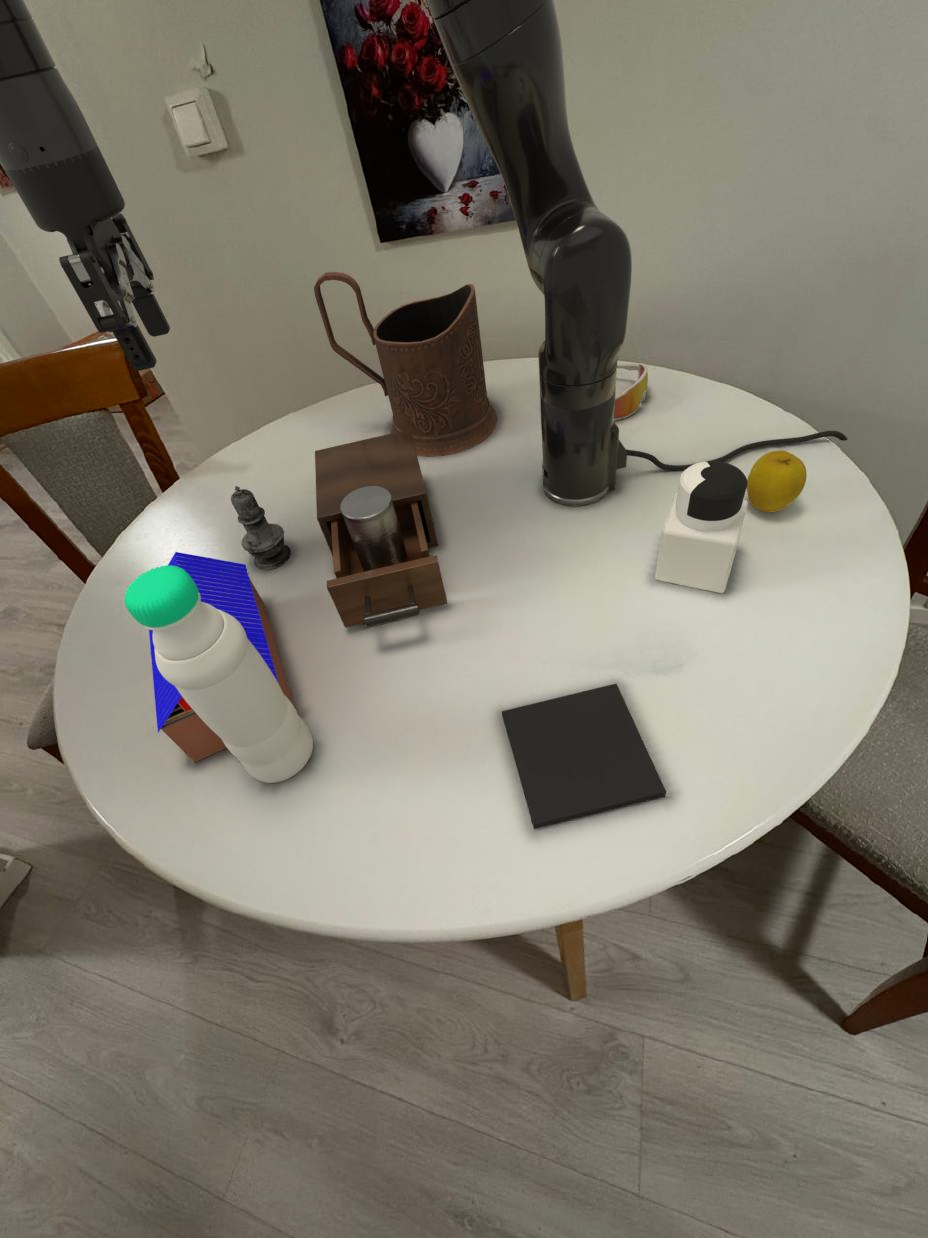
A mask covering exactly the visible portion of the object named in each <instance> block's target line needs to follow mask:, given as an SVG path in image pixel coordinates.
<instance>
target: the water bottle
mask: <svg viewBox="0 0 928 1238" xmlns="http://www.w3.org/2000/svg"><path fill="white" fill-rule="evenodd" d="M124 606H125V607H126V609H127V611H128V613H129V614H130V615H131V617H132V618H133V619H134V620H135V621H136V622H137V623H139V624H140V625H141V626H142V627H144V628H145V629H147V630H149V629H150V630H153V644H154V647H155V660H156V664H157V667H158V670H159V671H160V673H161V674H162V676H163V677H164V678H165V679H166V680H167V681H168V682H169V683H171V684H172V685H174V686H175V687H176V688H177V690H178V691H179V693H180V694H181V695H182V697H183V698H184V699H185V701H186V702H187V703H188V704H189V706H190V707H191V708H192V709H193V711H195V713H196V714H197V715H198V716H199V717H200V718H201V719H202V720H203V721H204V723H205V724H206V725H207V726H208V727H209V728H210V729H211V730H212V731H213V732H214V733H216V734H217V735H218V736H219V737H220V738H221V739H222V741H223V742H224V744H225V746H226V747H227V748H226V749H227V750H228V751H229V752H230V753H231V754H232V755H233V756H234V757H236V758H237V759H238V761H239V762H240V764H241V765H242V767H243V768H244V769H245V770H246V772H247V773H248V774H249V775H250V776H251V777H252V778H253V779H255V780H257V781H259V782H261V783H267V784H272V783H273V784H275V783H280V782H283V781H286V780H288V779H290V778H292V777H293V776H295V775H297V773H298V774H299V772H301V770H302V769H303V768H304V767H305V766H306V764H307V763H308V762H309V759H310V758H311V755H312V753H313V748H314V739H313V735H312V733H311V730H310V728H309V727H308V726H307V724H306V722H305V721H304V720H303V718H302V717H300V716H299V714H298V711H297V710H296V709H297V708H296V707H295V708H294V706H295V705H294V706H293V704H292V703H291V701H290V700H289V699H288V698H287V697H286V696H285V695H284V694H283V692H282V690H281V688H280V686H279V684H278V682H277V680H276V679H275V677H274V675H273V674H272V672H271V670H270V669H269V667H268V666H267V664H266V663H265V661H264V660H263V658H262V657H261V655H260V654H259V652H258V651H257V650H256V648H255V647H254V646H253V645H252V643H251V642H250V641H249V640H248V639H247V635H246V633H245V630H244V628H243V627H242V625H241V624H240V623H239V622H238V621H237V620H236V619H235V618H234V617H233V616H231V615H229V614H228V613H225V612H223V611H221V610H219V609H216V608H215V607H213V606H212V605H210V604H207V603H204V602H201V596H200V593H199V592H198V588H197V586H196V584H195V582H194V581H193V579H192V578H191V577H190V575H189V574H188V573H187V572H186V571H185V570H183V569H182V568H179V567H177V566H173V565H170V566H169V565H168V564H167V565H160V566H156V567H155V568H151V569H150V570H146V571H145V572H142V573H141V575H138V576H137V577H136V578H134V580H133V581H131V583H130V584H129V585H128V586H127V589H126V590H125V593H124Z"/></svg>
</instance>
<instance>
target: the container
mask: <svg viewBox="0 0 928 1238" xmlns="http://www.w3.org/2000/svg"><path fill="white" fill-rule="evenodd" d="M693 464H694V465H692V466H690V467H689V468H687V469H686V470H685V471H682V472H681V474H680V477H679V483H678V490H677V491H676V492H675V494H674V497H673V500H672V502H671V505H670V507H669V510H668V512H667V517H666V519H665V522H664V524H663V528H662V530H661V535H660V542H659V549H658V556H657V562H656V568H655V576H654V578H655V580H656V581H660V582H665V583H669V584H675V585H679V586H685V587H690V588H695V589H699V590H703V591H709V592H715V593H718V594H723V593H724V592H725V591H726V590H727V589H726V588H727V585H728V582H729V579H730V574H731V571H732V567H733V564H734V560H735V556H736V553H737V549H738V547H739V543H740V538H741V535H742V530H743V526H744V521H745V518H746V513H747V509H748V506H749V505H748V504H749V502H748V500H747V499H745V495H746V493H747V484H748V482H747V480H748V477H747V476H746V475H745V473H744V472H743V471H742V470H741V469H740V468H739V467H738V466H736V465H734V464H731V463H728V462H726V461H725V462H720V461H710V460H707V461H705V460H704V461H700V462H696V463H693Z"/></svg>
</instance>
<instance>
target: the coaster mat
mask: <svg viewBox="0 0 928 1238" xmlns="http://www.w3.org/2000/svg"><path fill="white" fill-rule="evenodd" d="M501 716H502V720H503V723H504V727H505V731H506V735H507V737H508V741H509V745H510V748H511V752H512V756H513V760H514V763H515V766H516V770H517V774H518V778H519V781H520V784H521V788H522V792H523V795H524V798H525V802H526V806H527V810H528V813H529V818H530V821H531V824H532V827H533V829H534V830H537V829H539V828H544V827H548V826H551V825H557V824H560V823H565V822H568V821H572V820H576V819H580V818H583V817H588V816H593V815H597V814H600V813H605V812H608V811H612V810H617V809H620V808H624V807H629V806H632V805H636V804H640V803H641V804H642V803H645V802H648V801H653V800H657V799H661V798H665V797H666V793H667V790H666V788H665V785H664V783H663V781H662V780H661V778H660V775H659V773H658V770H657V769H656V766H655V764H654V762H653V760H652V758H651V755H650V753H649V751H648V748H647V747H646V745H645V742H644V739H643V738H642V736H641V733H640V731H639V729H638V727H637V725H636V723H635V721H634V718H633V716H632V714H631V712H630V710H629V708H628V705H627V704H626V701H625V699H624V696H623V694H622V692H621V690H620V688H619V686H618V684H617V683H613V684H609V685H604V686H601V687H595V688H592V689H588V690H583V691H580V692H576V693H575V692H574V693H572V694H567V695H564V696H563V695H562V696H559V697H555V698H551V699H547V700H542V701H539V702H534V703H530V704H526V705H522V706H517V707H513V708H510V709H506V710H505V709H504V710H502V711H501Z"/></svg>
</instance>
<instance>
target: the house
mask: <svg viewBox="0 0 928 1238" xmlns="http://www.w3.org/2000/svg"><path fill="white" fill-rule="evenodd" d="M167 565H169V566H170V565H173V566H177V567H179V568H182V569H183V570H185V571H186V572H187V573H188V574H189V575H190V577H191V578H192V579H193V581H194V582H195V584H196V586H197V588H198V592H199V593H200V596H201V602H204V603H207V604H210V605H212V606H213V607H215V608H216V609H219V610H221V611H223V612H225V613H228V614H229V615H231V616H233V617H234V618H235V619H236V620H237V621H238V622H239V623H240V624H241V625H242V627H243V628H244V630H245V633H246V635H247V639H248V640H249V641H250V642H251V643H252V645H253V646H254V647H255V648H256V650H257V651H258V652H259V654H260V655H261V657H262V658H263V660H264V661H265V663H266V664H267V666H268V667H269V669H270V670H271V672H272V674H273V675H274V677H275V679H276V680H277V682H278V684H279V686H280V688H281V690H282V692H283V694H284V695H285V696H286V697H287V698H288V699H289V700H290V701H291V703H292V704H293V706H294V708H295V709H296V706H295V702H294V699H293V696H292V692H291V689H290V686H289V683H288V679H287V676H286V673H285V668H284V665H283V662H282V658H281V656H280V652H279V648H278V644H277V642H276V639H275V634H274V631H273V628H272V624H271V621H270V618H269V615H268V611H267V608H266V604H265V602H264V601H263V599H262V597H261V595H260V593H259V592H258V591H257V589H256V587H255V585H254V583H253V582H252V580H251V578H250V576H249V572H248V568H247V566H246V564H245V563H240V562H235V561H229V560H223V559H218V558H212V557H206V556H201V555H197V554H189V553H184V552H179V551H175V552H174V554H173V555H172V557H171V559H170V561H169V562H168V564H167ZM148 634H149V635H148V636H149V645H150V646H149V647H150V658H151V670H152V682H153V683H152V684H153V693H154V703H155V704H154V705H155V706H154V707H155V717H156V728H157V729H156V730H157V733H160V731H162V732H163V733H164V734H165V735H166V736H167V737H168V738H169V739H170V740H171V741H172V742H173V743H174V744H175V745H176V746H177V747H178V748H179V749H180V750H181V751H182V752H183V753H184V754H185V755H186V756H187V757H188V758H189V759H190V760H192V762H194V763H196V762H198V761H200V760H202V759H205V758H208V757H209V756H212V755H214V754H216V753H218V752H220V751H223V750H226V749H228V748H227V747H226V746H225V744H224V742H223V741H222V739H221V738H220V737H219V736H218V735H217V734H216V733H214V732H213V731H212V730H211V729H210V728H209V727H208V726H207V725H206V724H205V723H204V721H203V720H202V719H201V718H200V717H199V716H198V715H197V714H196V713H195V711H194V710H193V709H192V708H191V707H190V706H189V704H188V703H187V702H186V701H185V699H184V698H183V697H182V695H181V694H180V693H179V691H178V690H177V688H176V687H175V686H174V685H172V684H171V683H169V682H168V681H167V680H166V679H165V678H164V677H163V676H162V674H161V673H160V671H159V670H158V667H157V664H156V660H155V647H154V644H153V630H150V629H148Z"/></svg>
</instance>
